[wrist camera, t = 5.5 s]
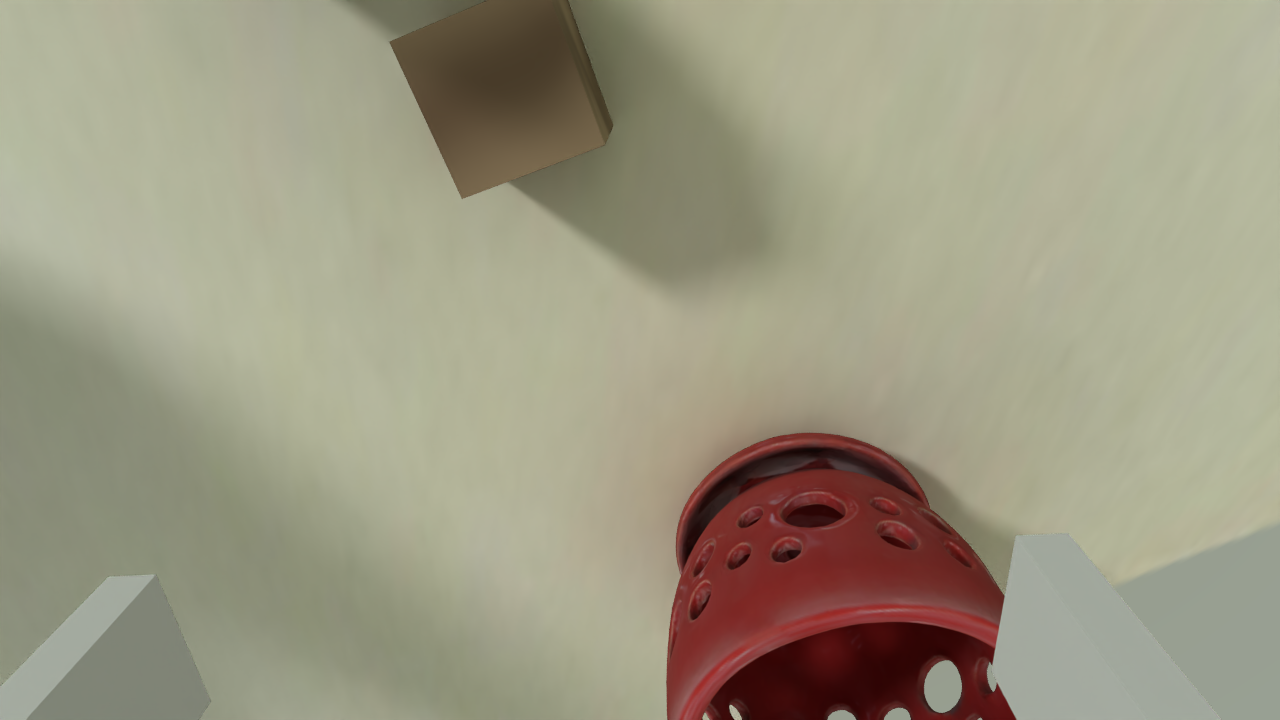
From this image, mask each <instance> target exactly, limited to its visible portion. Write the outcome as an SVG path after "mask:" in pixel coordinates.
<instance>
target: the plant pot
mask: <svg viewBox="0 0 1280 720" xmlns="http://www.w3.org/2000/svg"><path fill="white" fill-rule="evenodd" d="M676 557H677V563H678V567H679V571H680V574H681V578H680V581H679V584H678V587H677V591H676V595H675V599H674V603H673V607H672V614H671V621H670V628H669V641H668V655H667V681H666V684H667V719H668V720H703V719H702V717H703V715H704V713H706V714H707V716H708V717H709V719H710V720H734V718H733V717H732V716H731V713H730V709H729V705H730V704H731V705H732V706H734V707H735V708H736V709H737V710H738V712H739V713H740V715H741V717H742V720H827V719H828V716H829V715H830V714H831V713H832V712H835V711H837V710H846V711H848V712H850V713H852V714H853V715H854V716H855V718H856V720H884V717H885V716H886V714H887V713H888V712H889V711H891V710H892V709H895V708H904V709H906V710H907V711H908V712H909V714H910V717H911V720H977V719H978V718H980V717H981V718H982V720H1017V719H1016V717H1015V715H1014V714H1013V712H1012V710H1011V708H1010V706H1009V704H1008V702H1007V700H1006V698H1005V697H1004V695H1003V693H1002V691H1001V689H1000V687H999V685H998V683H997V685H996V689H995V691H994V692H993V691H992V690H991V688H990V686H989V684H988V678H987V668H988V665H989V662H990V663H991V665H992V664H993V659H994V653H995V648H996V642H997V637H998V631H999V626H1000V620H1001V615H1002V609H1003V603H1004V598H1005V596H1004V595H1003V593H1002V592H1001V590H1000V589H999V587H998V585H997V584H996V582H995V581H994V579H993V577H992V576H991V574H990V573H989V571H988V569H987V568H986V566H985V565H984V563H983V562H982V561H981V559H980V558H979V557H978V555H977V554H976V553H975V552H974V550H973V549H972V548H971V547H970V546H969V544H968V543H967V542H966V541H965V540H964V539H963V538H962V537H961V536H960V535H959V534H958V533H957V532H956V531H955V530H954V529H953V528H952V527H951V526H950V525H949V524H948V523H947V522H945V521H944V520H943V519H942V518H941V517H940V516H939V515H938V514H936V513H935V512H934V511H932V510H931V509H930V507H929V503H928V501H927V498H926V496H925V494H924V492H923V490H922V488H921V487H920V485H919V484H918V482H917V481H916V479H915V478H914V477H913V476H912V474H911V473H910V472H909V471H908V470H907V469H906V468H905V467H904V466H903V465H902V464H901V463H899V462H898V461H897V460H896V459H894V458H893V457H891V456H890V455H888V454H887V453H885V452H884V451H882V450H880V449H879V448H877V447H875V446H872V445H870V444H868V443H865V442H862V441H859V440H856V439H853V438H849V437H844V436H840V435H832V434H823V433H797V434H790V435H782V436H778V437H773V438H770V439H767V440H765V441H761V442H759V443H756V444H754V445H752V446H750V447H747V448H745V449H743V450H741V451H740V452H738V453H736V454H734V455H733V456H731V457H730V458H728V459H727V460H725V461H724V462H722V463H721V464H720V465H719V466H717V467H716V468H715V469H714V470H713V471H712V472H711V473H710V474H709V475H707V476H706V477H705V478H704V480H703V481H702V482H701V483H700V484H699V485H698V487H697V488H696V489H695V490H694V492H693V493H692V495H691V496H690V498H689V500H688V502H687V503H686V505H685V507H684V510H683V512H682V514H681V517H680V521H679V524H678V529H677V536H676ZM944 660H950V661H951V662H953V664H954V665H955V666H956V667H957V669H958V671H959V674H960V676H961V681H962V692H961V697H960V699H959V701H958V703H957V704H956V705H955V707H953V708H952V709H951V710H950V711H947V712H945V713H938V712H935V711H934V710H932V709H931V707H930V706H929V705H928V703H927V701H926V698H925V695H924V683H925V678H926V676H927V673H928V672H929V671H930V669H931V668H932V667H933V666H934V665H935V664H937V663H938V662H940V661H944Z"/></svg>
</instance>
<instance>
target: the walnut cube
mask: <svg viewBox="0 0 1280 720" xmlns="http://www.w3.org/2000/svg"><path fill="white" fill-rule="evenodd" d="M390 44H391V47H392V49H393V51H394V53H395V55H396V57H397V60H398V62H399V64H400V66H401V68H402V70H403V72H404V75H405V77H406V79H407V81H408V83H409V85H410V88H411V90H412V92H413V94H414V96H415V98H416V101H417V103H418V105H419V107H420V109H421V111H422V113H423V116H424V118H425V120H426V122H427V124H428V126H429V129H430V131H431V133H432V135H433V137H434V139H435V142H436V144H437V146H438V148H439V150H440V152H441V154H442V157H443V159H444V161H445V163H446V165H447V167H448V170H449V172H450V174H451V176H452V178H453V180H454V183H455V185H456V187H457V189H458V191H459V193H460V195H461V198H462V199H463V198H466V197H468V196H471V195H474V194H476V193H479V192H482V191H484V190H487V189H490V188H492V187H495V186H498V185H500V184H503V183H506V182H508V181H511V180H514V179H516V178H519V177H521V176H524V175H527V174H529V173H532V172H535V171H537V170H540V169H543V168H545V167H548V166H551V165H553V164H556V163H559V162H561V161H564V160H567V159H569V158H572V157H575V156H577V155H580V154H583V153H585V152H588V151H590V150H593V149H596V148H598V147H601V146H604V145H605V144H606V141H607V139H608V137H609V134H610V132H611V130H612V127H613V123H612V121H611V118H610V115H609V112H608V110H607V107H606V104H605V101H604V99H603V96H602V93H601V90H600V88H599V85H598V82H597V79H596V77H595V74H594V71H593V68H592V66H591V63H590V60H589V58H588V55H587V52H586V49H585V47H584V44H583V41H582V38H581V36H580V33H579V30H578V27H577V25H576V22H575V19H574V16H573V14H572V11H571V8H570V5H569V3H568V0H487V1H485V2H482V3H480V4H478V5H475V6H473V7H471V8H468V9H466V10H463V11H461V12H459V13H456V14H454V15H452V16H449V17H447V18H445V19H442V20H440V21H437V22H435V23H433V24H430V25H428V26H426V27H423V28H421V29H418V30H416V31H414V32H411V33H409V34H407V35H404V36H402V37H400V38H397V39H395V40H392V41H390Z"/></svg>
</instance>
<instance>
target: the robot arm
mask: <svg viewBox="0 0 1280 720" xmlns="http://www.w3.org/2000/svg"><path fill="white" fill-rule="evenodd" d="M991 672H992V674H993V676H994V678H995V680H996V681H997V683H998V685H999V687H1000V689H1001V691H1002V693H1003V695H1004V697H1005V698H1006V700H1007V702H1008V704H1009V706H1010V708H1011V710H1012V712H1013V714H1014V715H1015V717H1016V719H1017V720H1222V719H1221V718H1220V717H1219V715H1218V714H1217V713H1216V712H1215V711H1214V709H1213V708H1212V707H1211V706H1210V704H1209V703H1208V702H1207V701H1206V700H1205V698H1204V697H1203V696H1202V695H1201V694H1200V692H1199V691H1198V690H1197V689H1196V687H1195V686H1194V685H1193V684H1192V683H1191V681H1190V680H1189V679H1188V678H1187V677H1186V675H1185V674H1184V673H1183V672H1182V670H1181V669H1180V668H1179V667H1178V666H1177V664H1176V663H1175V662H1174V661H1173V660H1172V658H1171V657H1170V656H1169V655H1168V653H1167V652H1166V651H1165V650H1164V649H1163V647H1162V646H1161V645H1160V644H1159V643H1158V642H1157V640H1156V639H1155V638H1154V636H1153V635H1152V634H1151V633H1150V632H1149V631H1148V629H1147V628H1146V627H1145V626H1144V624H1143V623H1142V622H1141V621H1140V620H1139V618H1138V617H1137V616H1136V615H1135V613H1134V612H1133V611H1132V610H1131V609H1130V607H1129V606H1128V605H1127V604H1126V602H1125V601H1124V600H1123V599H1122V598H1121V596H1120V595H1119V594H1118V593H1117V592H1116V590H1115V589H1114V588H1113V587H1112V585H1111V584H1110V583H1109V582H1108V581H1107V579H1106V578H1105V577H1104V576H1103V575H1102V573H1101V572H1100V571H1099V570H1098V568H1097V567H1096V566H1095V565H1094V564H1093V562H1092V561H1091V560H1090V559H1089V558H1088V556H1087V555H1086V554H1085V553H1084V551H1083V550H1082V549H1081V548H1080V547H1079V545H1078V544H1077V543H1076V542H1075V541H1074V539H1073V538H1072V537H1071V536H1070V534H1069V533H1060V534H1038V535H1016V537H1015V543H1014V548H1013V554H1012V559H1011V565H1010V570H1009V576H1008V581H1007V587H1006V592H1005V598H1004V603H1003V609H1002V615H1001V620H1000V626H999V631H998V637H997V642H996V648H995V653H994V659H993V664H992V670H991ZM210 702H211V700H210V698H209V695H208V693H207V691H206V688H205V686H204V684H203V681H202V679H201V677H200V674H199V672H198V670H197V668H196V665H195V663H194V661H193V658H192V656H191V654H190V651H189V649H188V647H187V644H186V642H185V640H184V637H183V635H182V633H181V630H180V628H179V626H178V623H177V621H176V619H175V617H174V614H173V612H172V610H171V607H170V605H169V603H168V600H167V598H166V596H165V593H164V591H163V589H162V586H161V584H160V582H159V579H158V577H157V575H156V574H153V575H131V576H108V578H107V579H106V580H105V581H104V582H103V583H102V584H101V585H100V586H99V587H98V588H97V589H96V590H95V591H94V592H93V593H92V594H91V595H90V596H89V597H88V598H87V599H86V600H85V601H84V602H83V603H82V604H81V605H80V606H79V607H78V608H77V609H76V610H75V611H74V612H73V613H72V614H71V615H70V616H69V617H68V618H67V619H66V620H65V621H64V622H63V623H62V624H61V625H60V626H59V627H58V628H57V629H56V630H55V631H54V633H53V634H52V635H51V636H50V637H49V638H48V639H47V640H46V641H45V642H44V643H43V644H42V645H41V646H40V647H39V648H38V649H37V650H36V651H35V652H34V653H33V654H32V655H31V656H30V657H29V658H28V659H27V660H26V661H25V662H24V663H23V664H22V665H21V666H20V667H19V668H18V669H17V670H16V671H15V672H14V673H13V674H12V675H11V676H10V677H9V678H8V679H7V680H6V681H5V682H4V683H3V684H2V685H1V686H0V720H199V719H200V717H201V716H202V714H203V713H204V711H205V710H206V708H207V707H208V705H209V704H210Z"/></svg>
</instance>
